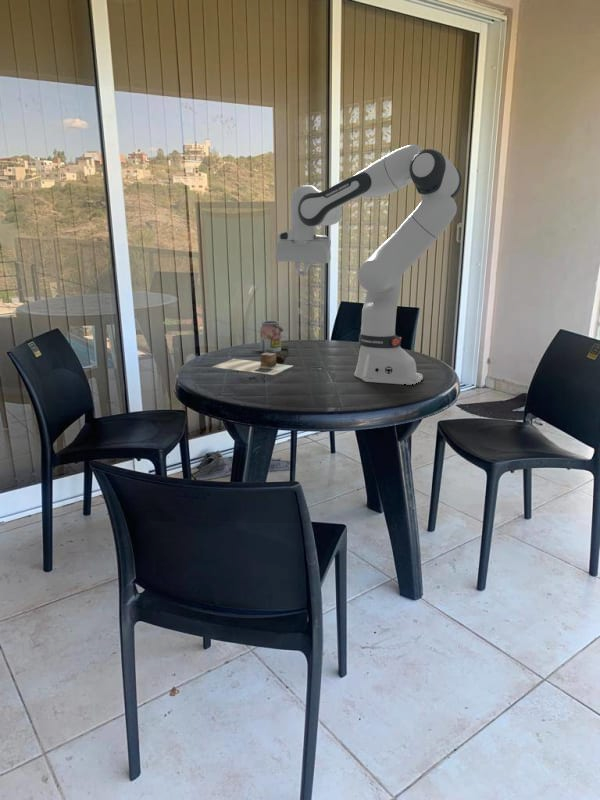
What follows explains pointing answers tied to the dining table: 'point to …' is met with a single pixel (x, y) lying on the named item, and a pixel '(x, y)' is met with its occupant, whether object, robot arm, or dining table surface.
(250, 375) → the dining table surface
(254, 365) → the birch board
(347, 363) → the dining table surface
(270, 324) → the beverage can
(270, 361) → the walnut cube
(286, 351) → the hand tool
